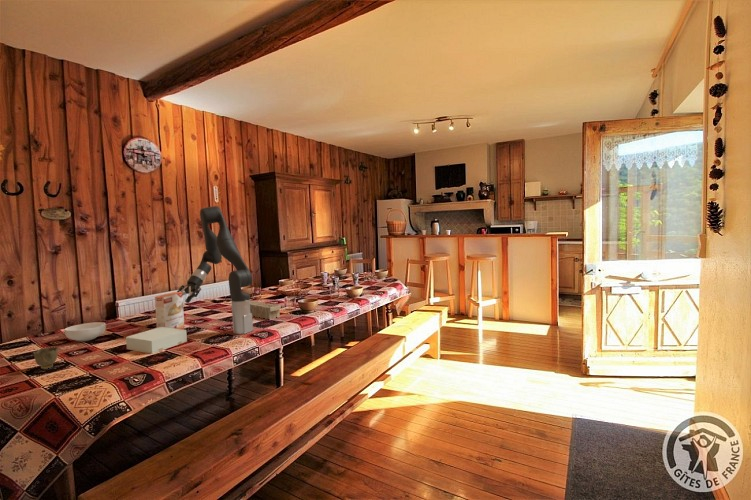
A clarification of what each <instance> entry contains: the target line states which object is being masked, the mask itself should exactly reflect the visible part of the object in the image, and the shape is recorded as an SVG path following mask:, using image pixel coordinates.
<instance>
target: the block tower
mask: <svg viewBox="0 0 751 500" xmlns="http://www.w3.org/2000/svg"><path fill="white" fill-rule="evenodd" d="M281 307H282V306H281V305H279V304H273V303H265V302H262V301H257V300H256V301H255V300H250V311H251V313H252V317H254V316H255V318H259V317H260V318H259V319H263V318H265V319H264V320H268V319H272V320H274V319H273V318H275V319H277V318H276V317H278V318H280V317H281V315H280V311H281V310H282V308H281ZM279 316H280V317H279Z"/></svg>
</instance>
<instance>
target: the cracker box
mask: <svg viewBox="0 0 751 500" xmlns="http://www.w3.org/2000/svg"><path fill="white" fill-rule="evenodd" d="M183 296H184V295H183V293H182V292H181V291H180V292H177V291H173V292H170V293H164V294H161V295H157V296H154V303H155V304H154V305H155V308H154V309H155V321H156V324H155V325H156V328H159V327H168V328H175V329H183V330H185V319H184V318H185V317H184V297H183Z"/></svg>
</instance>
